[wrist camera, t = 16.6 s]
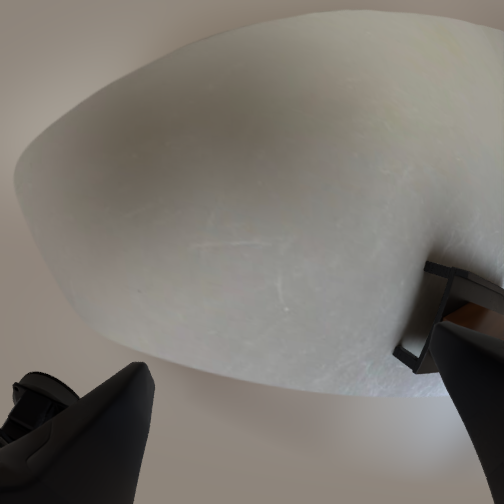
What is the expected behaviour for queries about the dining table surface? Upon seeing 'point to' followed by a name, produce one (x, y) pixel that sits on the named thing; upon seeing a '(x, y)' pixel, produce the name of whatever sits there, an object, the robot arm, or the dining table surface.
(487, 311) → the walnut block
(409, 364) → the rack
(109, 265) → the dining table surface
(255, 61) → the dining table surface
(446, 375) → the robot arm
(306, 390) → the dining table surface
